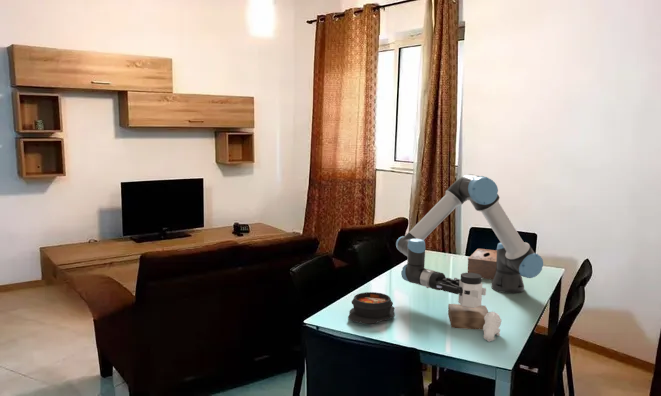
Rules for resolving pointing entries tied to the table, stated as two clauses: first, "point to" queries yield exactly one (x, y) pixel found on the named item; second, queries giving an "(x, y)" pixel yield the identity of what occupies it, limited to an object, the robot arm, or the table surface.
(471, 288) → the jar
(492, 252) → the tissue box cover
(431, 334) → the table surface
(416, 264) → the robot arm
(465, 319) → the walnut block
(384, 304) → the casserole
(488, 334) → the white animal figurine
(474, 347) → the table surface
